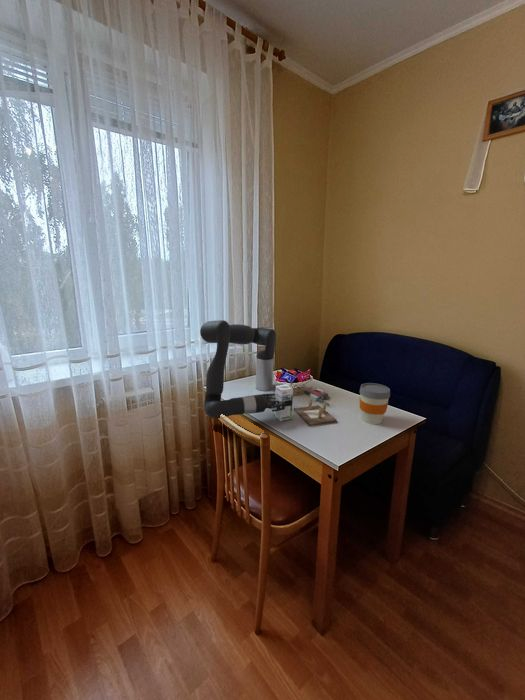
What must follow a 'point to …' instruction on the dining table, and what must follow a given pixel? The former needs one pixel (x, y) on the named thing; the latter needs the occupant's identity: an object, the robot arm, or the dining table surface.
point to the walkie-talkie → (316, 394)
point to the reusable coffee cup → (373, 402)
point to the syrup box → (284, 395)
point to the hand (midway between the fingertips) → (288, 399)
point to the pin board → (315, 414)
